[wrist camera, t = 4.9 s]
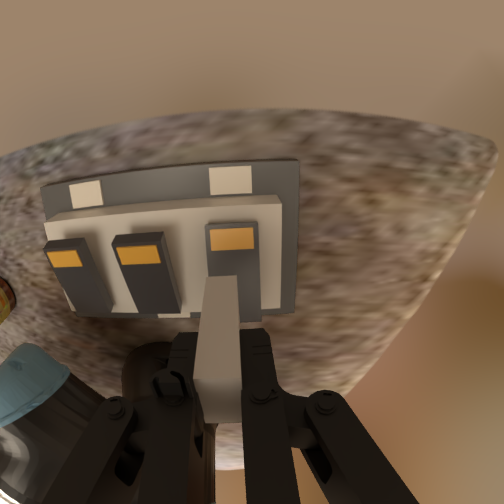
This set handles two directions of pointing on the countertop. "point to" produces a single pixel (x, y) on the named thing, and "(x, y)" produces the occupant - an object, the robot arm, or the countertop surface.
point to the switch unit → (183, 223)
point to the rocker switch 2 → (148, 272)
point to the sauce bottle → (5, 300)
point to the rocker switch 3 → (237, 262)
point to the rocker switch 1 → (78, 275)
